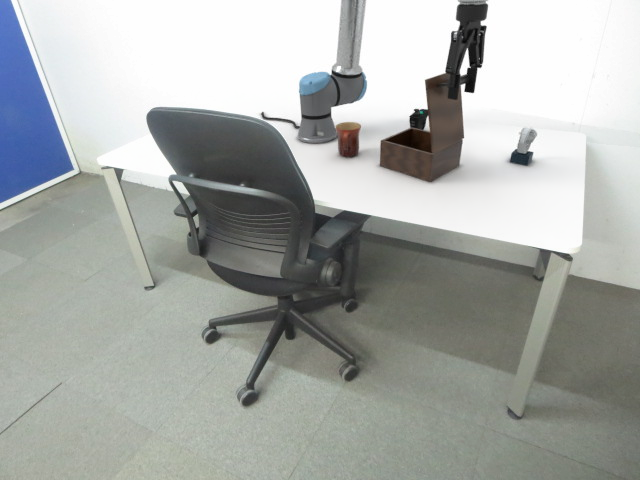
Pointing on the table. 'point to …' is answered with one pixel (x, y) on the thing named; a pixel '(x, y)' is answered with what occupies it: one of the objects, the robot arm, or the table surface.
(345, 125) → the mug
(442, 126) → the lid
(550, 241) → the table surface
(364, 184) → the table surface
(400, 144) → the chest
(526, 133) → the white bust statue
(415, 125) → the controller
